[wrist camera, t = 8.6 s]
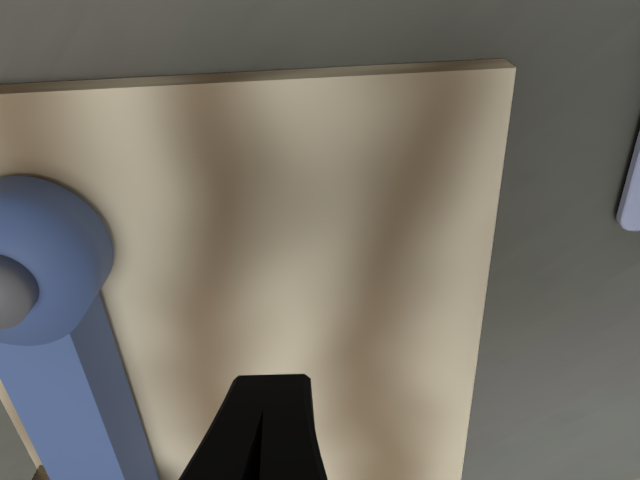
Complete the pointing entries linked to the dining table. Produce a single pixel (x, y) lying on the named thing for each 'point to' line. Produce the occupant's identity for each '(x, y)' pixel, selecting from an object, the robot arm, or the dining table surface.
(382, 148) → the board
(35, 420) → the link
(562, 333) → the dining table surface
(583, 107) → the dining table surface
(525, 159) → the dining table surface
